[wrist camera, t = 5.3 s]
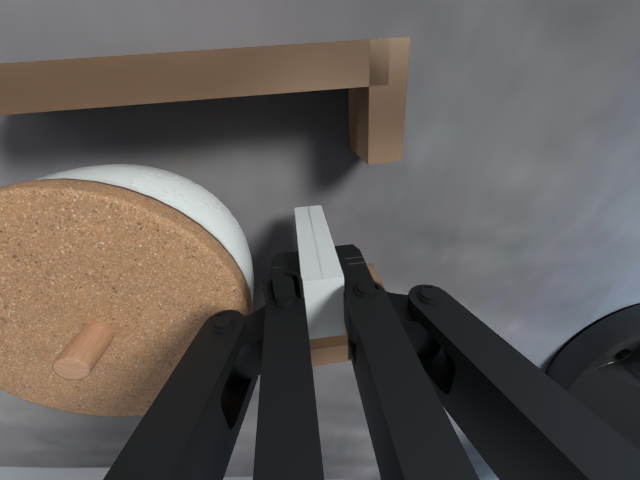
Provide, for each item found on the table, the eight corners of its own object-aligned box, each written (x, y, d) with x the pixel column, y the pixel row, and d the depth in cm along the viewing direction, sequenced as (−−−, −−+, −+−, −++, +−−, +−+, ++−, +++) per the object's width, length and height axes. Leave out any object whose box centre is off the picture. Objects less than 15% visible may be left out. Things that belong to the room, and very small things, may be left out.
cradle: (371, 312, 22) (388, 355, 19) (153, 342, 21) (127, 393, 17) (377, 49, 14) (410, 36, 10) (22, 73, 13) (-77, 68, 9)
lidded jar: (91, 97, 13) (-207, 115, 5) (293, 198, 17) (303, 303, 9) (53, 269, 17) (-154, 433, 9) (224, 322, 21) (187, 476, 13)
